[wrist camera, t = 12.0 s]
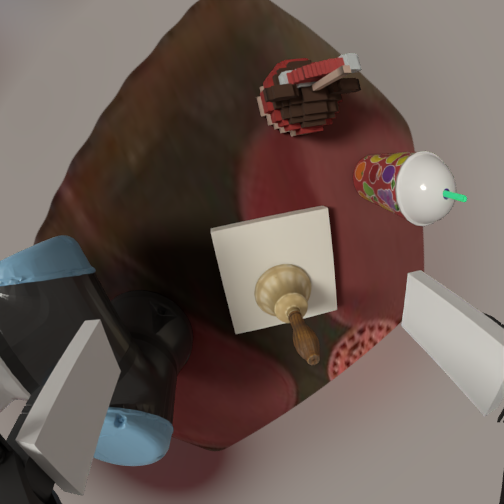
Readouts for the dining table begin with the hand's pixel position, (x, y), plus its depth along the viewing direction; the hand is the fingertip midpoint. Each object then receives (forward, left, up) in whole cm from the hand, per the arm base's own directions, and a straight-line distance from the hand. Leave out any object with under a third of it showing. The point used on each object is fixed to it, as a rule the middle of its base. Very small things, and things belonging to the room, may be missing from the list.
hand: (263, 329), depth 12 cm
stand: (+5, -11, -30) cm, 32 cm away
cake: (+11, +12, -31) cm, 35 cm away
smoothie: (+21, 0, -30) cm, 37 cm away
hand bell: (+5, -13, -28) cm, 32 cm away
